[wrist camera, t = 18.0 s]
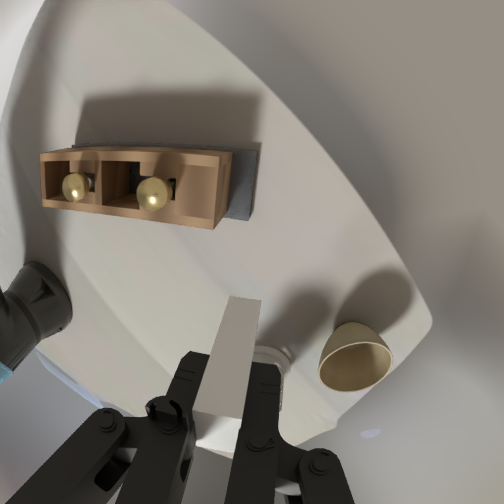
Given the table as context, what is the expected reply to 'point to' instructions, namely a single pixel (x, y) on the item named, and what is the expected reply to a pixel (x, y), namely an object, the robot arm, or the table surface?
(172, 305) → the table surface
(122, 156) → the wooden compartment box
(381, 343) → the flower pot
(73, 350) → the table surface
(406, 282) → the table surface
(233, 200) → the rail
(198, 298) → the table surface
